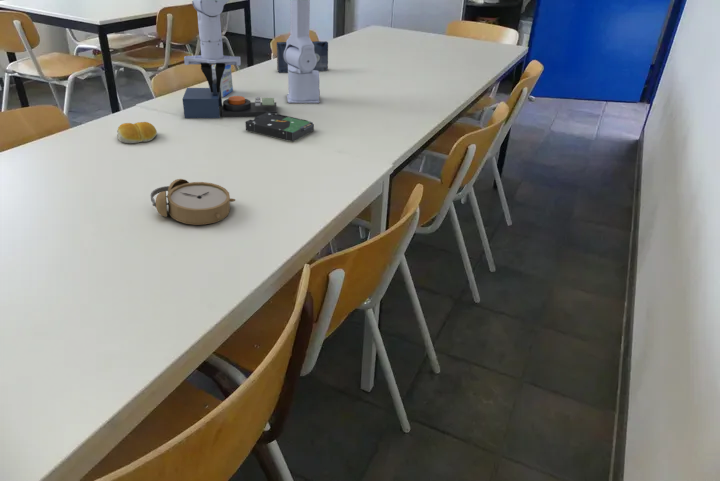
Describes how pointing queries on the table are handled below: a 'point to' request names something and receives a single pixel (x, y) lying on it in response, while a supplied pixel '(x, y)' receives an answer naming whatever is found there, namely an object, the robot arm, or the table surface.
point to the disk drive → (280, 126)
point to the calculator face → (264, 101)
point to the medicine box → (224, 80)
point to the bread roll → (136, 132)
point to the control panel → (246, 109)
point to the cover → (202, 102)
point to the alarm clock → (193, 202)
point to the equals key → (236, 100)
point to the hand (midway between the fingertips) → (215, 91)
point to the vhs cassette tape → (320, 52)
